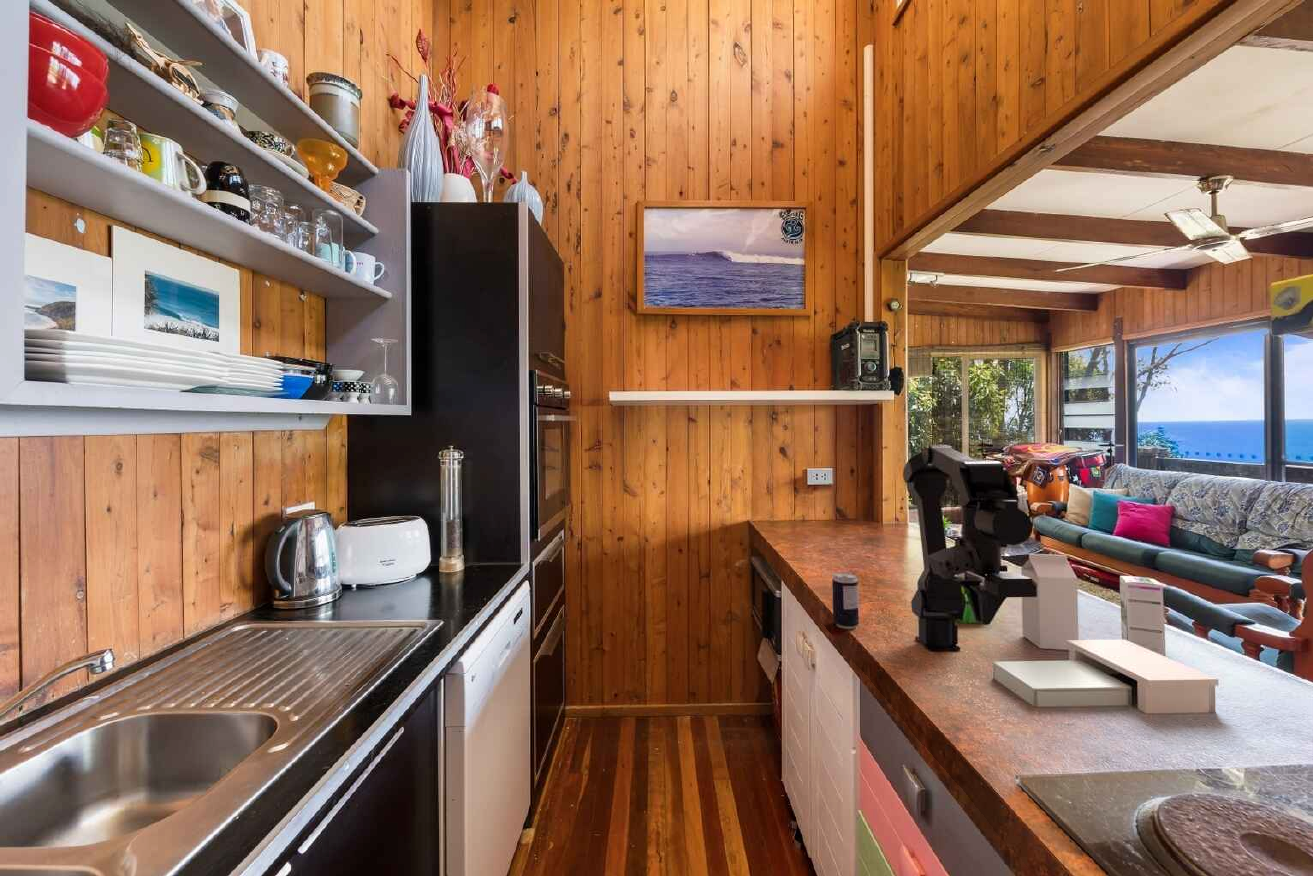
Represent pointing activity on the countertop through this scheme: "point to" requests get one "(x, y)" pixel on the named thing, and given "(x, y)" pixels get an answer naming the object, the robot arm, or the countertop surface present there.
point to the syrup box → (1142, 612)
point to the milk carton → (1050, 602)
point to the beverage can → (845, 600)
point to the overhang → (1150, 675)
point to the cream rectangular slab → (1061, 683)
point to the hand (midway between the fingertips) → (982, 623)
